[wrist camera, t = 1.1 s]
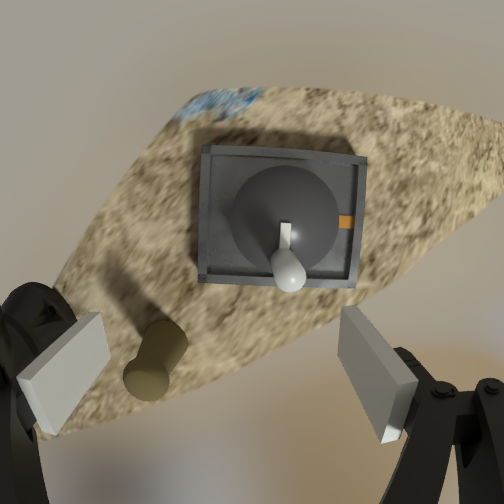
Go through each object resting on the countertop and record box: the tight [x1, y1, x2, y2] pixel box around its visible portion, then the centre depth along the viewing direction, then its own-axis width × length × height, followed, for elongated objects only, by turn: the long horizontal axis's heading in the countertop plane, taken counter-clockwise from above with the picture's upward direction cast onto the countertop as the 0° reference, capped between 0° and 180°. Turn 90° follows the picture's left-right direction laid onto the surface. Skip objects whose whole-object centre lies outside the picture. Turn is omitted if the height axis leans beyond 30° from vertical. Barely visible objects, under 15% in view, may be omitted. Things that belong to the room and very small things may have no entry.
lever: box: [230, 165, 339, 292], centre depth 29 cm, size 11×11×9 cm
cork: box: [123, 320, 188, 401], centre depth 33 cm, size 6×6×11 cm
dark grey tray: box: [198, 145, 367, 288], centre depth 34 cm, size 18×15×3 cm
